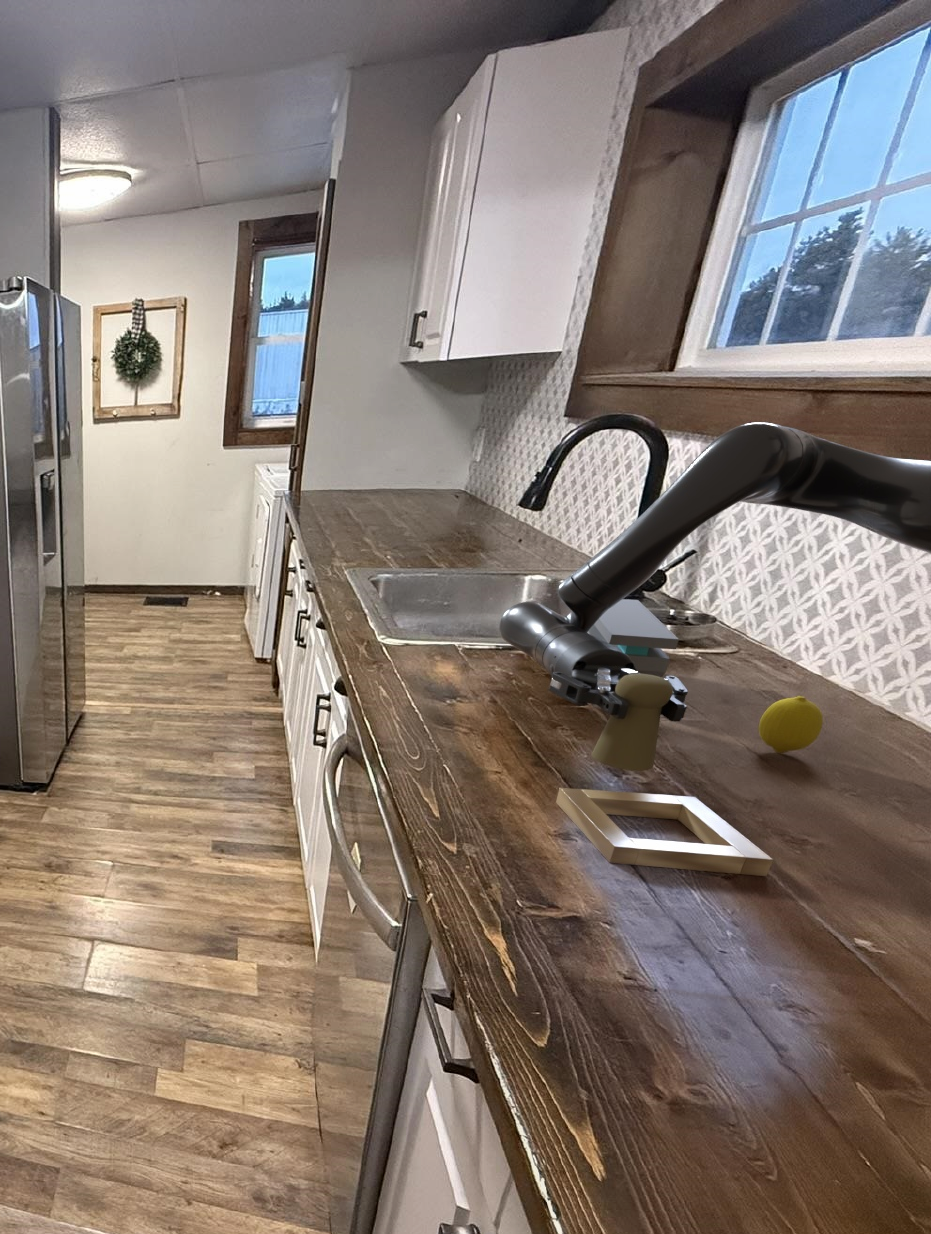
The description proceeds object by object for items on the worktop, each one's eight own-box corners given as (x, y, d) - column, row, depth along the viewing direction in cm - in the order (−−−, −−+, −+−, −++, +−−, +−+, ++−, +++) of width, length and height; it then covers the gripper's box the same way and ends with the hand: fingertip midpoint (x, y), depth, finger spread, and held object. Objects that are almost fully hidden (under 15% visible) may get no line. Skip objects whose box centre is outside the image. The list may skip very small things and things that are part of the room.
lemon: (819, 764, 98) (843, 705, 95) (764, 759, 100) (786, 702, 97) (793, 746, 103) (815, 690, 100) (741, 742, 105) (761, 687, 102)
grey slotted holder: (657, 708, 117) (679, 639, 113) (592, 701, 120) (611, 634, 116) (620, 660, 137) (638, 600, 133) (566, 655, 140) (581, 597, 136)
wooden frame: (689, 811, 89) (695, 796, 88) (766, 876, 77) (773, 859, 76) (555, 802, 92) (559, 787, 92) (609, 862, 81) (614, 846, 80)
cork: (662, 773, 92) (691, 687, 88) (601, 767, 94) (626, 683, 90) (641, 752, 97) (668, 670, 93) (584, 747, 99) (607, 666, 95)
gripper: (532, 637, 106) (588, 680, 91) (656, 641, 102) (736, 685, 87) (519, 688, 109) (572, 738, 94) (640, 693, 105) (714, 745, 90)
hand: (651, 712), depth 91 cm, fingers closed on cork, 5 cm apart
